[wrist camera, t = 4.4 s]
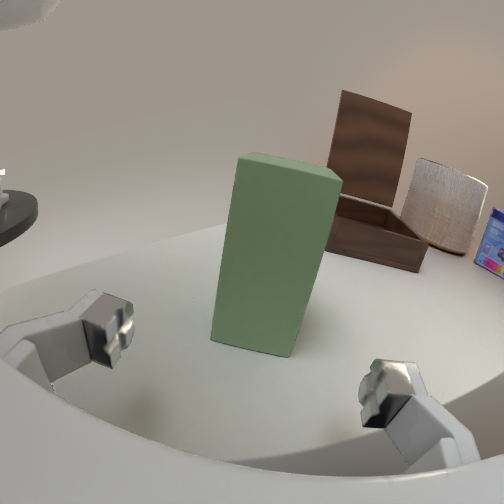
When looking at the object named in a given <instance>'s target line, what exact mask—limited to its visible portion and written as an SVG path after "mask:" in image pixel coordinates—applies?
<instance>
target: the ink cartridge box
mask: <svg viewBox="0 0 504 504" xmlns="http://www.w3.org/2000/svg"><path fill="white" fill-rule="evenodd" d="M474 262H475V263H477V264H478V265H480V266H482V267H484V268H486V269H487V270H489V271H491V272H493V273H495V274H496V275H498V276H500V277H501V278H503V279H504V212H503V211H501V210H499V209H497V208H494V207H493V209H492V212H491V215H490V218H489V221H488V223H487V226H486V229H485V232H484V235H483V238H482V241H481V243H480V246H479V249H478V252H477V254H476V257H475V261H474Z"/></svg>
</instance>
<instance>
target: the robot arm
mask: <svg viewBox="0 0 504 504" xmlns="http://www.w3.org/2000/svg"><path fill="white" fill-rule="evenodd" d="M59 1H60V0H0V30H7V29H14V28H19V27H22V26H26V25H29V24H32V23H36V22H40V21H42V20H44V19H45V18H46V17H47V16H48V15H50V13H51V12H52V11H53V10H54V9H55V8H56V6H57V5H58V3H59ZM3 174H5V170H0V209H1V207H2V205H3V204H5V203H6V202H8V201H9V194H7V193H3V192H2V183H1V175H3ZM133 313H134V312H133V304H132V303H131V302H129V301H126V300H123V299H121V298H118V297H115V296H113V295H110V294H107V293H104V292H101V291H99V290H96V289H94V290H91V291H90V292H89V293H87V294H86V295H85V296H84V297H83V298H82V299H81V300H80V301H79V302H77V303H76V304H75V305H74V306H73V307H72V308H71V309H70V310H69V311H68V312H67V313H66V312H64V311H62V312H58V313H55V314H51V315H47V316H44V317H40V318H36V319H33V320H29V321H25V322H21V323H18V324H14V325H10V326H8V327H6V328H5V329H4V330H3V331H2V332H1V333H0V504H504V454H501V455H498V456H495V457H492V458H488V459H484V460H481V459H480V455H479V452H478V449H477V446H476V443H475V440H474V437H473V434H472V433H471V432H470V431H469V430H468V429H467V428H466V427H465V426H464V425H462V424H461V423H460V422H459V421H458V420H457V419H456V418H455V417H454V416H453V415H452V414H451V413H450V412H449V411H448V410H446V409H445V408H444V407H443V406H442V405H441V404H440V403H439V402H438V401H437V400H436V399H435V398H433V397H432V396H428V393H427V391H426V388H425V385H424V382H423V380H422V377H421V375H420V372H419V369H418V367H417V365H416V364H415V363H414V362H404V361H402V362H400V361H392V360H383V359H376V360H374V361H373V363H372V364H371V366H370V369H371V372H370V373H369V374H367V375H365V376H364V378H363V379H362V381H361V383H360V387H359V392H358V398H359V402H360V403H361V404H362V406H363V407H364V408H363V409H362V410H361V419H362V426H363V427H367V428H384V430H385V432H386V433H387V435H388V436H389V437H390V439H391V440H392V442H393V443H394V445H395V446H396V447H397V449H398V450H399V452H400V453H401V454H402V456H403V457H404V459H405V460H406V462H407V463H408V464H409V467H408V468H407V469H406V470H405V471H403V472H402V473H401V474H400V475H388V476H366V477H340V476H339V477H338V476H317V475H303V474H293V473H285V472H276V471H270V470H263V469H257V468H252V467H246V466H241V465H236V464H231V463H227V462H222V461H218V460H214V459H210V458H206V457H202V456H199V455H195V454H191V453H188V452H185V451H181V450H178V449H175V448H172V447H169V446H166V445H163V444H160V443H157V442H154V441H152V440H149V439H146V438H144V437H141V436H138V435H136V434H133V433H131V432H129V431H126V430H124V429H122V428H119V427H117V426H115V425H112V424H110V423H108V422H106V421H104V420H102V419H100V418H97V417H95V416H93V415H91V414H89V413H87V412H85V411H84V410H82V409H80V408H78V407H76V406H74V405H72V404H70V403H69V402H67V401H65V400H63V399H62V398H60V397H58V396H57V395H55V392H54V390H53V388H52V386H51V384H50V382H52V381H54V380H56V379H58V378H60V377H62V376H64V375H66V374H68V373H70V372H72V371H74V370H76V369H78V368H80V367H82V366H84V365H86V364H88V363H90V362H91V361H93V362H95V363H98V364H100V365H103V366H105V367H108V368H110V369H113V368H114V366H115V365H116V363H117V362H118V360H119V359H120V358H121V352H120V351H121V350H124V349H126V348H128V346H129V345H130V343H131V341H132V338H133V336H134V322H133V320H132V319H131V317H130V316H131V315H132V314H133Z"/></svg>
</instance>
